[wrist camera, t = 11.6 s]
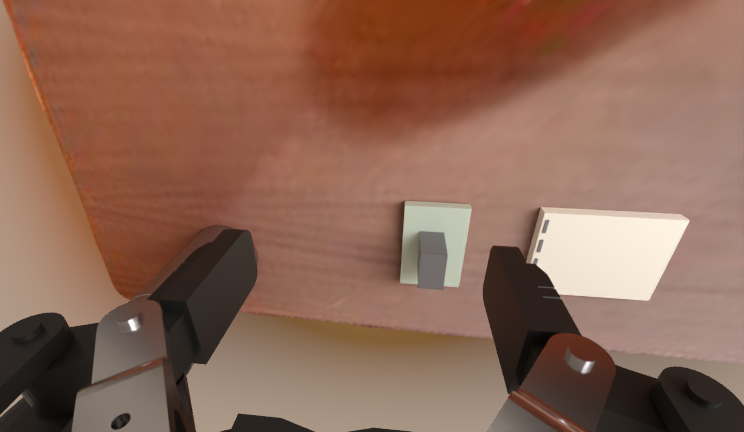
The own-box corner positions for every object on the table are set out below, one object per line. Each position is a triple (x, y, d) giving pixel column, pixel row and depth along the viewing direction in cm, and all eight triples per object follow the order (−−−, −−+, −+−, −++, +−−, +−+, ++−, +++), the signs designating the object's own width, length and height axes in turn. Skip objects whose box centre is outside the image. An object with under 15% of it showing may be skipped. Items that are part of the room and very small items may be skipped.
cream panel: (680, 214, 41) (690, 221, 40) (642, 292, 47) (649, 301, 45) (540, 207, 42) (545, 213, 41) (519, 284, 48) (523, 292, 47)
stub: (470, 204, 43) (478, 230, 37) (457, 281, 49) (463, 313, 43) (405, 200, 44) (404, 225, 38) (400, 277, 49) (399, 308, 44)
